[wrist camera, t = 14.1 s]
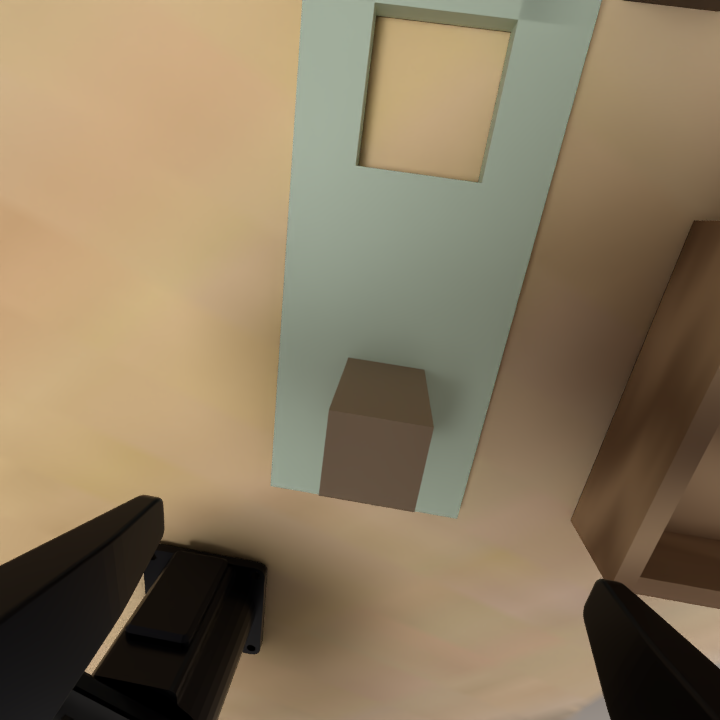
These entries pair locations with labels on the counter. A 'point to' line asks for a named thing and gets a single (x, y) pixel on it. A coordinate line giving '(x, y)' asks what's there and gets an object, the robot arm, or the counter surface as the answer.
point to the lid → (409, 258)
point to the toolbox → (666, 447)
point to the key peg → (687, 3)
